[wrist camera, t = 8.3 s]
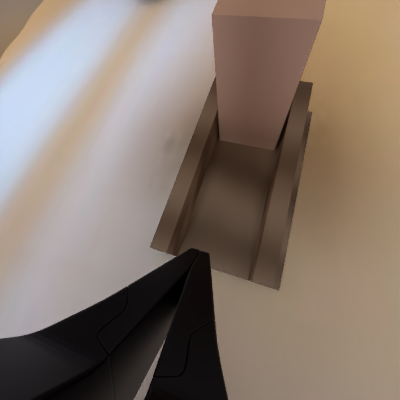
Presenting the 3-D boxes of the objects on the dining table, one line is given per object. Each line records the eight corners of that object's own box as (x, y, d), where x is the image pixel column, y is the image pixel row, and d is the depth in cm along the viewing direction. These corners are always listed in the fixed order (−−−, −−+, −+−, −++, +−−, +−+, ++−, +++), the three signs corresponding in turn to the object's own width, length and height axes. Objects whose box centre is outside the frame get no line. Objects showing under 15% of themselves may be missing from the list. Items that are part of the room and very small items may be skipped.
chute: (276, 289, 15) (291, 294, 12) (155, 249, 17) (136, 242, 14) (308, 118, 20) (326, 84, 16) (210, 103, 22) (206, 70, 18)
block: (274, 150, 18) (322, 19, 9) (219, 140, 19) (211, 14, 10) (284, 106, 20) (335, -46, 10) (233, 99, 21) (237, -44, 11)
